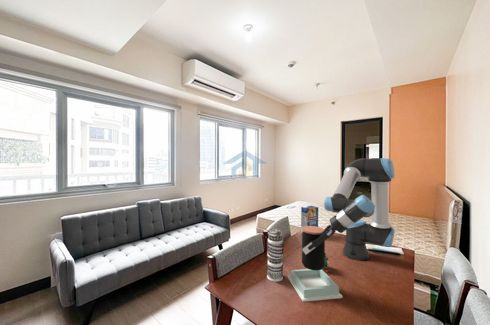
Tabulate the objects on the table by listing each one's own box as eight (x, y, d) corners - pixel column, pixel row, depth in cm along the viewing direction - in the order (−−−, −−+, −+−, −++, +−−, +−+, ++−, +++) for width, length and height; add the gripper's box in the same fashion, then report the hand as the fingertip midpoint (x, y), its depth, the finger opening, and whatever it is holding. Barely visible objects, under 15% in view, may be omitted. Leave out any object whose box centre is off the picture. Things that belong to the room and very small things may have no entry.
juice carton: (311, 233, 178) (311, 205, 178) (318, 236, 172) (318, 207, 172) (300, 235, 173) (301, 206, 173) (307, 238, 166) (307, 208, 166)
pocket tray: (320, 275, 112) (320, 266, 112) (342, 297, 94) (342, 288, 94) (287, 277, 109) (287, 269, 109) (302, 301, 91) (303, 291, 91)
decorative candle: (279, 284, 104) (280, 234, 104) (263, 278, 108) (263, 231, 108) (286, 275, 111) (286, 229, 111) (270, 270, 116) (271, 226, 116)
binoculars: (308, 247, 125) (325, 247, 123) (310, 265, 124) (327, 265, 122) (310, 254, 116) (328, 254, 114) (312, 273, 116) (330, 273, 114)
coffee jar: (328, 265, 101) (328, 229, 101) (319, 273, 94) (319, 234, 94) (307, 258, 109) (308, 224, 109) (297, 265, 101) (298, 229, 101)
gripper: (345, 235, 83) (306, 264, 91) (350, 222, 103) (317, 246, 111) (331, 220, 86) (294, 249, 94) (338, 210, 106) (307, 234, 114)
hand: (307, 247), depth 103 cm, fingers closed on coffee jar, 11 cm apart
